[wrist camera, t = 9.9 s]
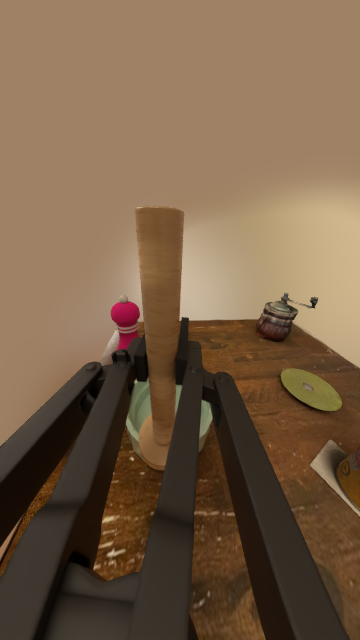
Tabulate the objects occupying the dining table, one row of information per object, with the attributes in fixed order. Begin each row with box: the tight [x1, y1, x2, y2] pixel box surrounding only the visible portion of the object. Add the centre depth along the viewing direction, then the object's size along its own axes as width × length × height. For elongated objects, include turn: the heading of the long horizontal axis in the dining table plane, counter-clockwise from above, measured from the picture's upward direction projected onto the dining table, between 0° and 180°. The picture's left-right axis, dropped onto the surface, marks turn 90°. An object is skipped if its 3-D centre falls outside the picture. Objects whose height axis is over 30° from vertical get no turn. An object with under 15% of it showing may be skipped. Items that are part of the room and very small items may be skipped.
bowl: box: [125, 377, 213, 462], centre depth 28 cm, size 15×15×6 cm
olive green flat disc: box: [281, 368, 342, 411], centre depth 35 cm, size 11×11×2 cm
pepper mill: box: [111, 295, 140, 350], centre depth 36 cm, size 7×7×20 cm
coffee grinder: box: [257, 293, 318, 341], centre depth 52 cm, size 13×15×18 cm
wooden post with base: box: [135, 206, 184, 470], centre depth 13 cm, size 6×6×22 cm
